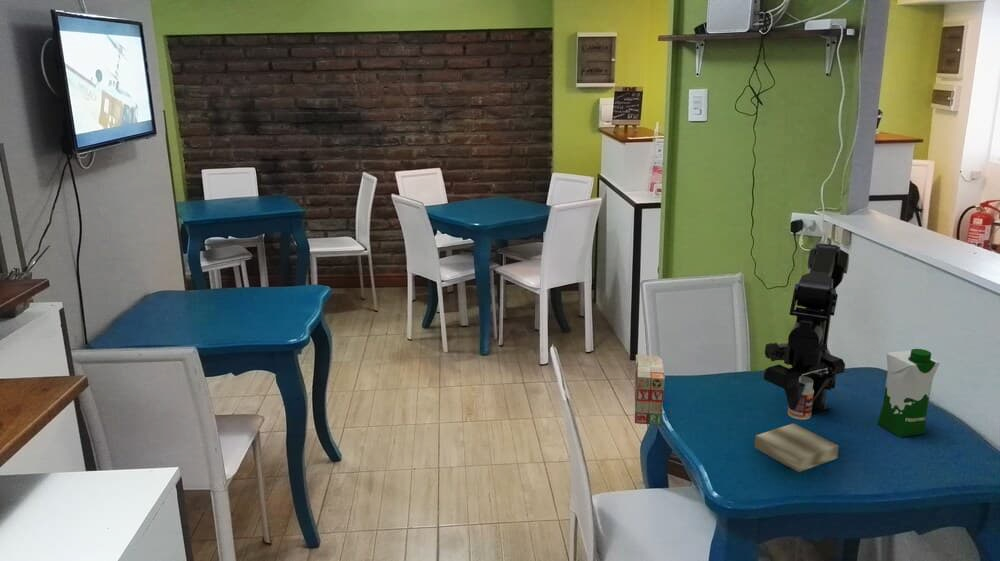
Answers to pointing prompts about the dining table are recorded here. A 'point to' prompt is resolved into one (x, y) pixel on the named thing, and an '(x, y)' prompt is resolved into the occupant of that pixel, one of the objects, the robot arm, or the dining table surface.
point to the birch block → (796, 447)
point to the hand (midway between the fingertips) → (800, 406)
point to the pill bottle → (804, 401)
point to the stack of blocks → (649, 389)
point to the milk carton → (907, 392)
